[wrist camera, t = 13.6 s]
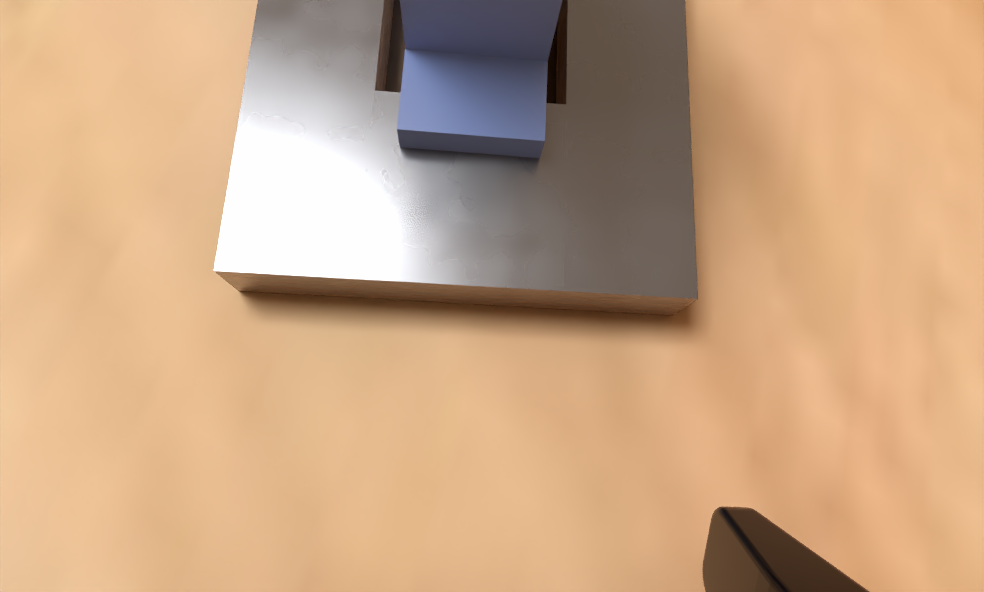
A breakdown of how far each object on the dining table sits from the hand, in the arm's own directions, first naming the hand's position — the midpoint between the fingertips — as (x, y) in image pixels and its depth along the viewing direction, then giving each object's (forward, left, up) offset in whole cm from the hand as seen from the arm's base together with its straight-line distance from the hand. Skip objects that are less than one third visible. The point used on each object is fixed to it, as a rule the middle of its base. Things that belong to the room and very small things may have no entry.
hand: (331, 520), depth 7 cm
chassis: (+12, -7, -10) cm, 18 cm away
